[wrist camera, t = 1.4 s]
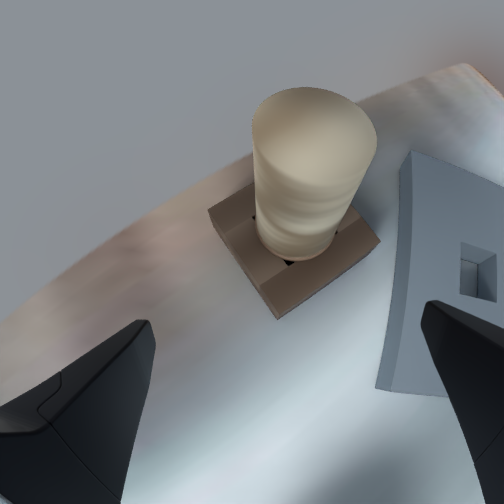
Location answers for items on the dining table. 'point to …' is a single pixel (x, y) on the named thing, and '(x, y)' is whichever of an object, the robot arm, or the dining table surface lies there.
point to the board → (440, 263)
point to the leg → (307, 168)
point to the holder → (274, 268)
